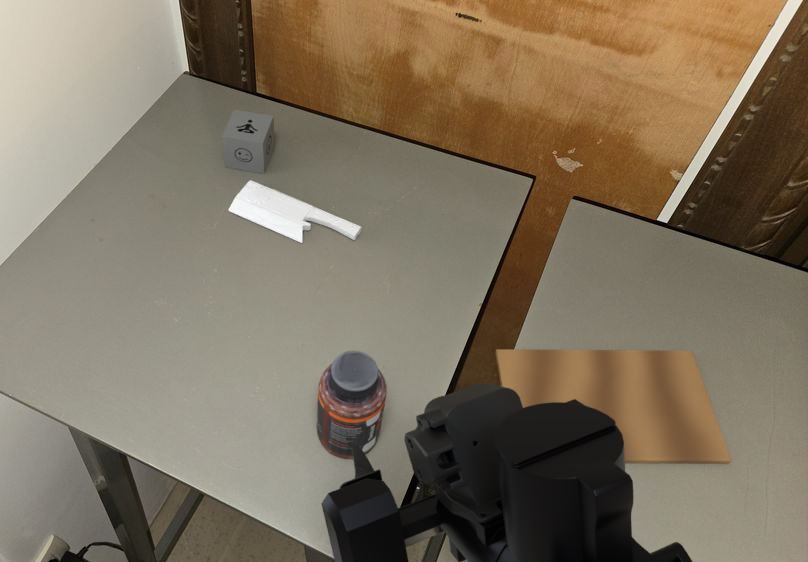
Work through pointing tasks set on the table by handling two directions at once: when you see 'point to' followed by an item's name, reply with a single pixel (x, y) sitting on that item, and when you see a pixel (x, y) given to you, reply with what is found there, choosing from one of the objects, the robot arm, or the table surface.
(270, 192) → the white plastic blade
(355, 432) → the supplement bottle
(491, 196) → the table surface
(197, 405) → the table surface
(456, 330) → the table surface
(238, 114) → the dice cube
